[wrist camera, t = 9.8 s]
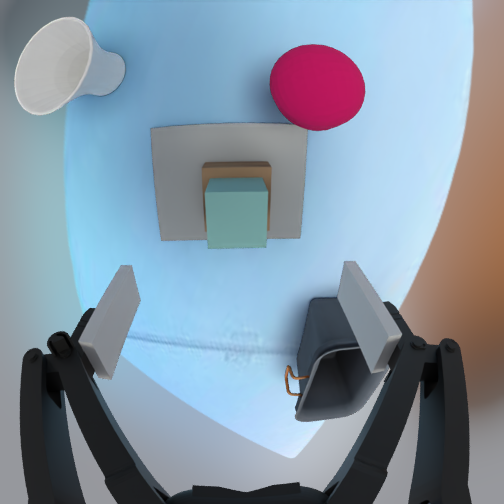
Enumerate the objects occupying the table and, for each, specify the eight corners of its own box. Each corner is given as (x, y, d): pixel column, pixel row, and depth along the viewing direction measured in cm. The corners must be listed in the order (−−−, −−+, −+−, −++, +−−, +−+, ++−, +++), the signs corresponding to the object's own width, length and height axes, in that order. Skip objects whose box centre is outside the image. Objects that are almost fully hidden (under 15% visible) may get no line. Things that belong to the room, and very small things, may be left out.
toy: (272, 134, 34) (296, 148, 21) (248, 77, 30) (257, 52, 17) (331, 114, 33) (387, 120, 19) (309, 58, 29) (355, 30, 16)
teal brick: (210, 178, 31) (204, 192, 26) (262, 177, 32) (268, 191, 26) (212, 226, 34) (208, 248, 29) (261, 225, 34) (266, 247, 29)
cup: (64, 98, 28) (3, 103, 16) (94, 33, 24) (40, 13, 12) (118, 119, 31) (65, 127, 19) (153, 50, 27) (112, 24, 15)
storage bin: (341, 362, 56) (359, 415, 44) (273, 368, 55) (281, 426, 43) (370, 284, 46) (405, 340, 34) (285, 286, 45) (302, 352, 33)
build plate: (152, 128, 32) (150, 128, 31) (305, 125, 33) (307, 125, 32) (162, 237, 40) (161, 240, 39) (298, 235, 41) (300, 238, 40)
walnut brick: (205, 162, 34) (201, 168, 31) (267, 161, 35) (271, 167, 31) (207, 219, 38) (204, 231, 34) (266, 219, 38) (269, 230, 35)
